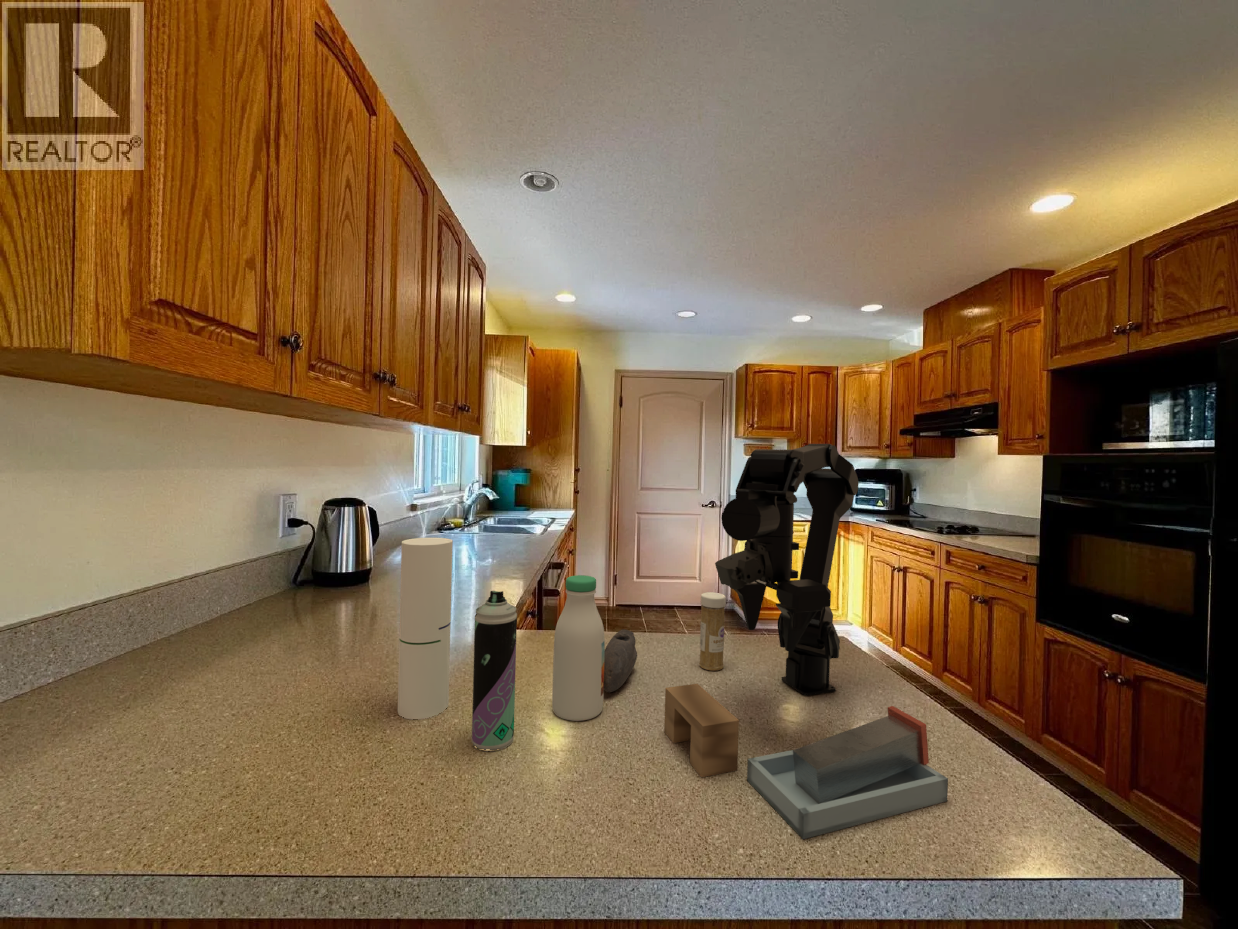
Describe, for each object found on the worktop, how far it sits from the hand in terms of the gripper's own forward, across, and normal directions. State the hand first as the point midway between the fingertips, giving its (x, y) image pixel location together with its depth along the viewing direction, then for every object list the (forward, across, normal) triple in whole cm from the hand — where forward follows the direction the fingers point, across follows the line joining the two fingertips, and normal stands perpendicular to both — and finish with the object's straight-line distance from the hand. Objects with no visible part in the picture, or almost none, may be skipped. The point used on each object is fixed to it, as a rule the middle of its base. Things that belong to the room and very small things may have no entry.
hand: (769, 639), depth 76 cm
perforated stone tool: (+12, -19, -17) cm, 28 cm away
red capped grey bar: (+10, +16, +1) cm, 19 cm away
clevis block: (+12, +4, -14) cm, 18 cm away
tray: (+12, +16, -1) cm, 20 cm away
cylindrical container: (+12, -18, -48) cm, 53 cm away
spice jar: (+12, -20, +2) cm, 24 cm away
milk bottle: (+12, -11, -26) cm, 31 cm away
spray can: (+12, -6, -39) cm, 41 cm away
